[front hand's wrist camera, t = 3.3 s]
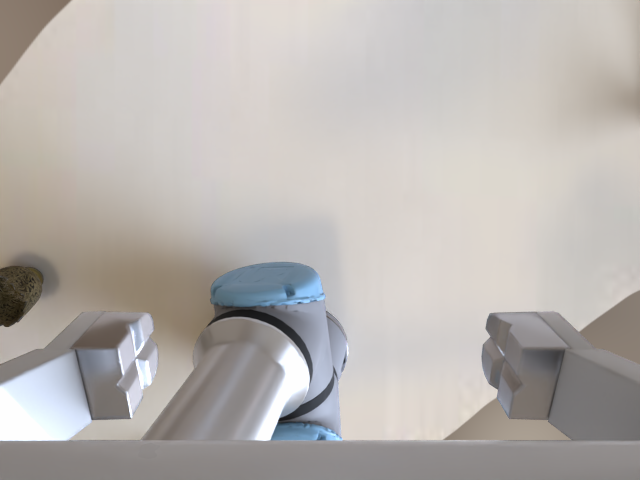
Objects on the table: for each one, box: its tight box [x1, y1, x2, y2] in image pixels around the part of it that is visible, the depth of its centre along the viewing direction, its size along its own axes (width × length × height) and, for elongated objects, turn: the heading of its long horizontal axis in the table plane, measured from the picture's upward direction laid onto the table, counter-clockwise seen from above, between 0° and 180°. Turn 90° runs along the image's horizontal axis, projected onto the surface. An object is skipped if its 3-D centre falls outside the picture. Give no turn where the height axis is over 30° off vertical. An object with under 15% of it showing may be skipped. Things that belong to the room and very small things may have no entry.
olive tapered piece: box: [0, 266, 43, 327], centre depth 59 cm, size 8×7×8 cm
